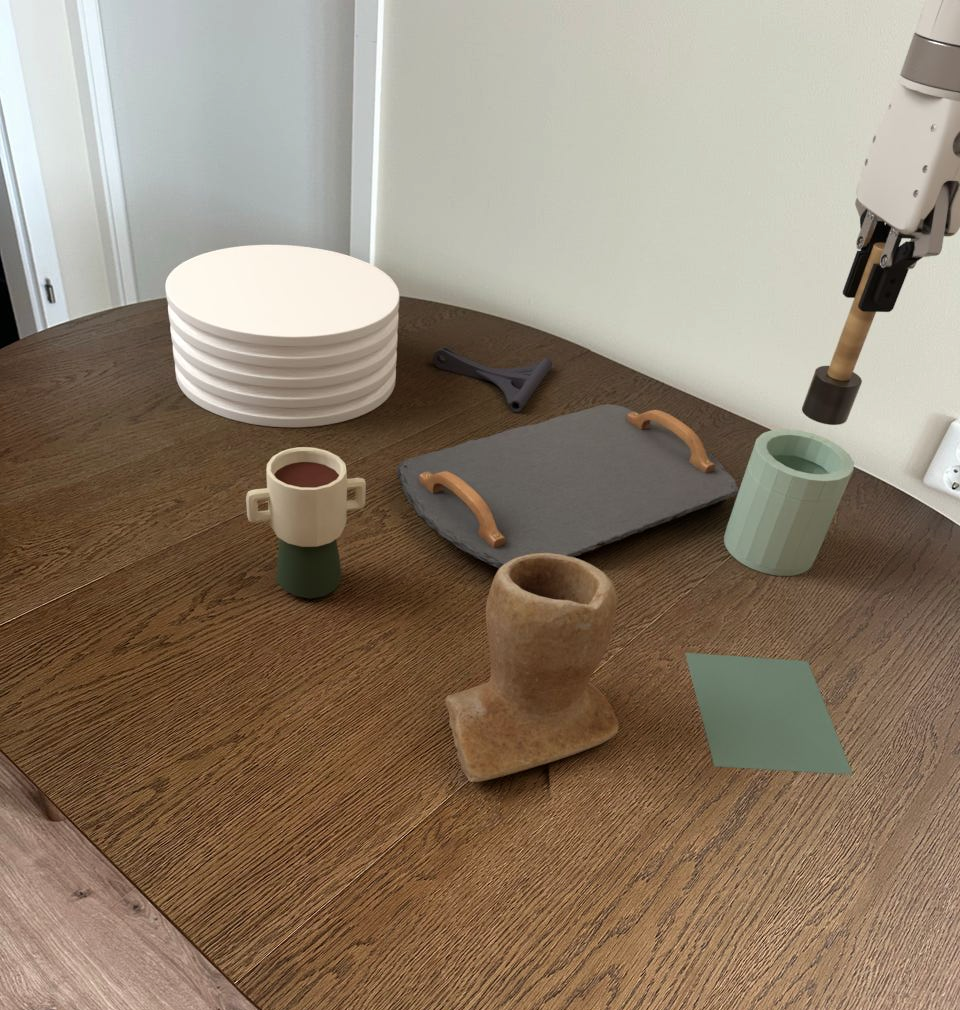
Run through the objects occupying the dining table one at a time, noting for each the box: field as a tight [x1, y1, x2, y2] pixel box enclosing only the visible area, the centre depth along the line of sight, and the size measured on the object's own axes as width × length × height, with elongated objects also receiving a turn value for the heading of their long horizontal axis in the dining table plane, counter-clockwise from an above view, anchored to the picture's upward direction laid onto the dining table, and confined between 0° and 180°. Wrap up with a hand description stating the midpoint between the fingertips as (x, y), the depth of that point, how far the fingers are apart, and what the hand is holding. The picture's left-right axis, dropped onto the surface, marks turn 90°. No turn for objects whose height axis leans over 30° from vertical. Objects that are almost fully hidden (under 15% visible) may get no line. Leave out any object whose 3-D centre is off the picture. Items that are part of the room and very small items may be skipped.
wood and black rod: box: [801, 243, 886, 426], centre depth 87 cm, size 4×4×16 cm
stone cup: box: [444, 553, 619, 783], centre depth 75 cm, size 15×12×15 cm
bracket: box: [432, 346, 553, 413], centre depth 127 cm, size 14×15×3 cm
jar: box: [723, 428, 855, 577], centre depth 100 cm, size 10×10×12 cm
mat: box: [684, 652, 854, 776], centre depth 84 cm, size 12×14×1 cm
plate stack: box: [164, 244, 400, 428], centre depth 119 cm, size 28×28×12 cm
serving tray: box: [396, 403, 740, 570], centre depth 106 cm, size 39×23×6 cm, turn 126°
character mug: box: [245, 446, 367, 599], centre depth 87 cm, size 11×7×13 cm, turn 111°
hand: (866, 301), depth 85 cm, fingers closed on wood and black rod, 2 cm apart
